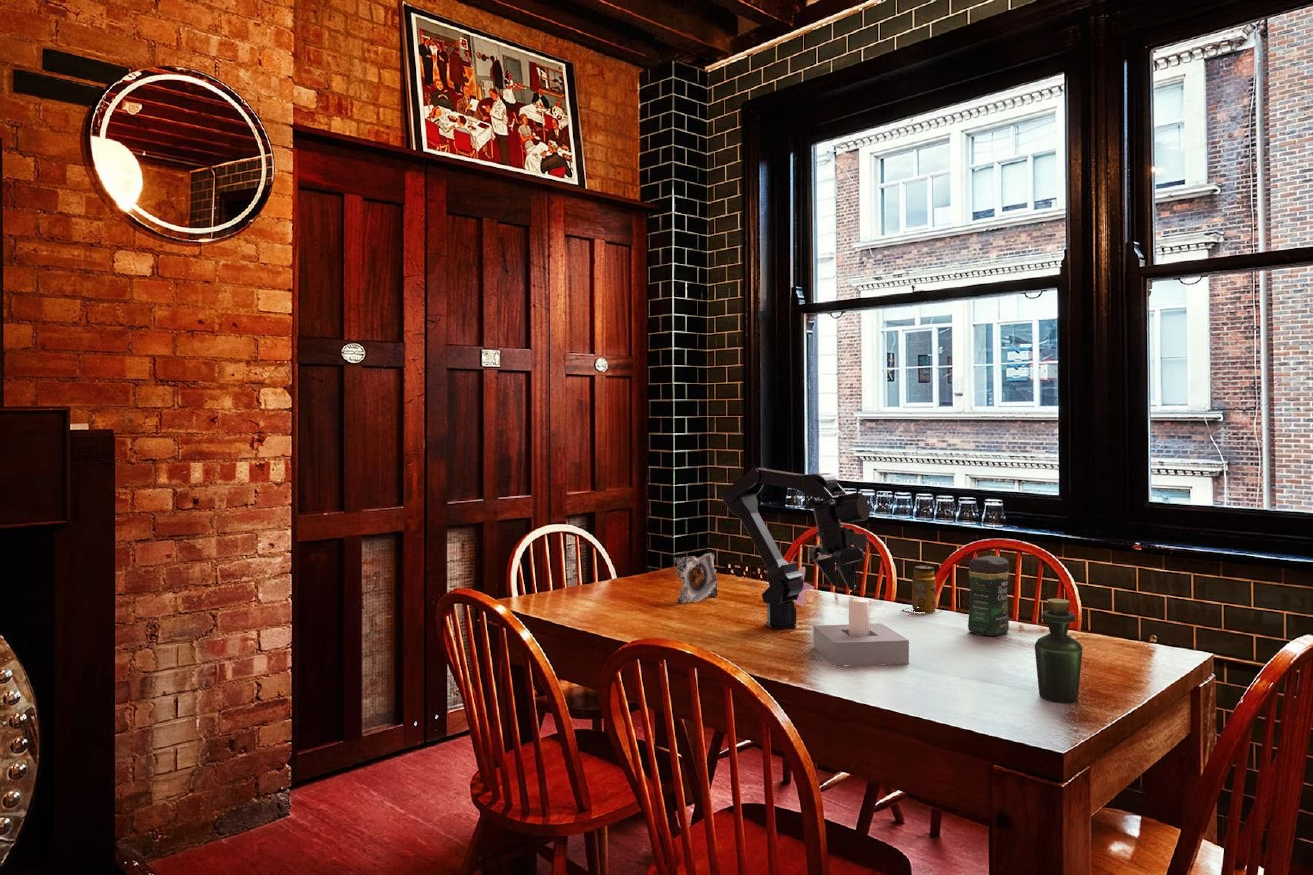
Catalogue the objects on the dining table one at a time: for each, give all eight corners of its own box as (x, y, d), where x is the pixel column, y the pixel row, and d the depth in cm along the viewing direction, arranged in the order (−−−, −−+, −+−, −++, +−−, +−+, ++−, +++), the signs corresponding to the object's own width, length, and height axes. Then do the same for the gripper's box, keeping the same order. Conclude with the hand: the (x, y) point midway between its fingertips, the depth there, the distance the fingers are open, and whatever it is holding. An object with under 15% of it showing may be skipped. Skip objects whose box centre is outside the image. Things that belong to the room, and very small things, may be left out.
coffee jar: (993, 638, 207) (993, 560, 207) (963, 632, 213) (962, 556, 213) (1014, 632, 213) (1014, 555, 213) (984, 626, 219) (984, 552, 219)
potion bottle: (1031, 689, 167) (1031, 595, 167) (1078, 693, 165) (1078, 597, 165) (1037, 702, 160) (1037, 603, 159) (1086, 706, 157) (1086, 606, 157)
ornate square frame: (706, 595, 263) (706, 551, 263) (717, 597, 260) (717, 553, 260) (673, 603, 252) (673, 557, 252) (684, 605, 249) (684, 558, 249)
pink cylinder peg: (852, 658, 191) (852, 603, 191) (846, 653, 195) (846, 599, 195) (872, 657, 191) (872, 602, 191) (865, 652, 196) (865, 598, 196)
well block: (835, 666, 184) (835, 642, 184) (813, 647, 200) (813, 625, 200) (908, 663, 186) (908, 640, 186) (881, 645, 202) (881, 623, 202)
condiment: (942, 611, 238) (942, 567, 238) (921, 615, 233) (921, 570, 233) (920, 607, 244) (920, 563, 244) (900, 610, 239) (899, 566, 239)
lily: (762, 604, 254) (763, 579, 249) (785, 584, 261) (786, 558, 256) (797, 622, 247) (799, 596, 242) (820, 601, 254) (822, 575, 249)
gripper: (877, 518, 206) (891, 583, 206) (841, 515, 224) (855, 575, 224) (834, 529, 203) (849, 595, 203) (802, 526, 221) (815, 586, 221)
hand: (843, 587), depth 213 cm, fingers open, 9 cm apart
